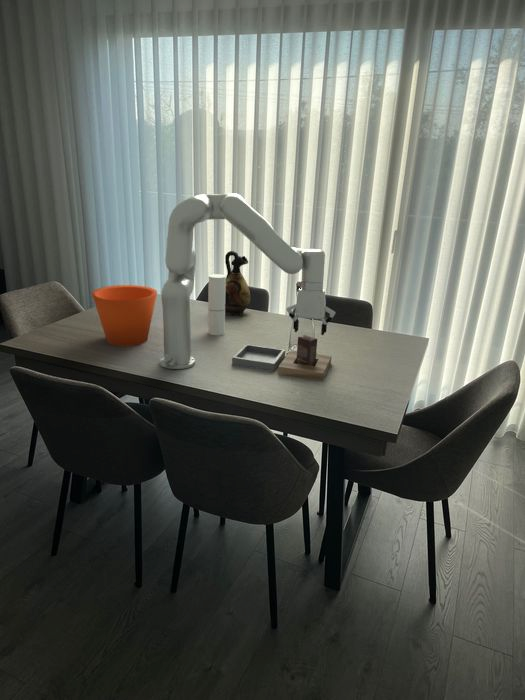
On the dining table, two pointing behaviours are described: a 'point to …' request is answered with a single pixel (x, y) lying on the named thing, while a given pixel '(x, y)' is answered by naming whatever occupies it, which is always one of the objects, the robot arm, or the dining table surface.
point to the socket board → (304, 367)
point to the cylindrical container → (216, 304)
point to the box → (306, 350)
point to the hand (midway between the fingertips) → (309, 332)
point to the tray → (258, 357)
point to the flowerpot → (125, 313)
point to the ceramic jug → (236, 286)
